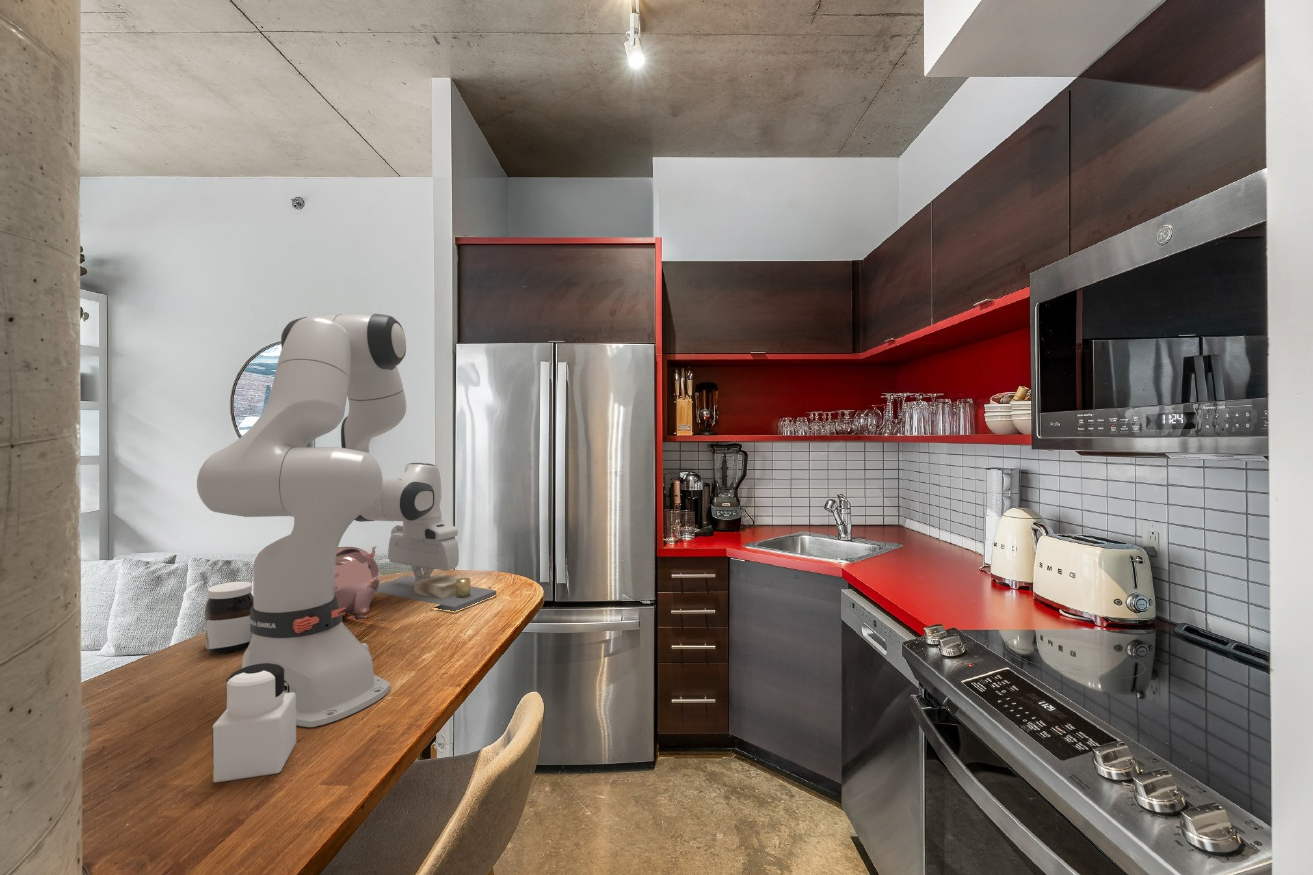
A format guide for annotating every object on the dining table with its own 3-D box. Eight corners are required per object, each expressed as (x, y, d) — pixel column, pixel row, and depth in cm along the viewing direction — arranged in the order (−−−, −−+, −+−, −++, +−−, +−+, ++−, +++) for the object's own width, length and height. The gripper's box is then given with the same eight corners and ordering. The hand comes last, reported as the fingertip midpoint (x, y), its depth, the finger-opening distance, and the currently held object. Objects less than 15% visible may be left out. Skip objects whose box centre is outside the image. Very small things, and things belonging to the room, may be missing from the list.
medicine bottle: (234, 751, 77) (233, 661, 76) (296, 743, 79) (296, 655, 78) (211, 784, 70) (210, 685, 70) (280, 774, 72) (279, 677, 72)
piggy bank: (285, 613, 130) (285, 542, 130) (374, 600, 140) (374, 534, 140) (287, 635, 117) (286, 556, 117) (385, 619, 127) (385, 546, 127)
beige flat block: (467, 590, 144) (467, 577, 144) (442, 598, 137) (442, 586, 137) (439, 585, 148) (439, 573, 148) (414, 593, 141) (414, 581, 141)
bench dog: (473, 595, 140) (473, 578, 140) (463, 598, 137) (463, 581, 137) (462, 593, 141) (462, 576, 141) (453, 596, 139) (453, 580, 138)
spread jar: (203, 644, 112) (202, 584, 112) (272, 630, 120) (272, 574, 119) (208, 664, 103) (207, 599, 103) (283, 648, 111) (283, 587, 110)
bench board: (496, 596, 144) (496, 590, 144) (454, 613, 131) (454, 606, 131) (407, 581, 157) (407, 575, 157) (361, 595, 144) (361, 589, 144)
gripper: (381, 526, 146) (381, 581, 146) (443, 534, 137) (443, 592, 138) (401, 522, 151) (402, 575, 152) (463, 529, 143) (463, 585, 143)
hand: (422, 583), depth 145 cm, fingers closed
